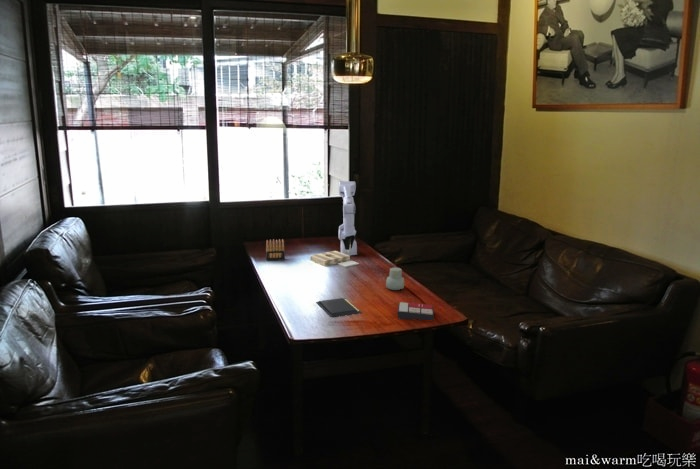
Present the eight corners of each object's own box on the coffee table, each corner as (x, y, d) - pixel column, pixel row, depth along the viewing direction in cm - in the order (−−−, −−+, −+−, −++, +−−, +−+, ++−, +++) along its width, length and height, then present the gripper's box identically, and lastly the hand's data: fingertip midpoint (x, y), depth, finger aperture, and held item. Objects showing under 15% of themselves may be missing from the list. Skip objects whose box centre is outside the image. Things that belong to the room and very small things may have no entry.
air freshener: (402, 292, 257) (403, 272, 255) (385, 291, 259) (386, 271, 256) (404, 285, 268) (405, 266, 265) (388, 284, 269) (388, 265, 267)
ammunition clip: (284, 258, 312) (284, 238, 310) (284, 259, 311) (284, 239, 308) (266, 259, 310) (265, 239, 307) (266, 260, 309) (265, 239, 306)
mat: (351, 261, 308) (351, 260, 308) (359, 264, 303) (359, 263, 303) (337, 264, 302) (337, 263, 302) (345, 267, 297) (345, 266, 297)
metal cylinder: (346, 252, 303) (346, 240, 301) (351, 252, 302) (351, 240, 300) (344, 253, 300) (344, 241, 299) (349, 253, 299) (349, 241, 298)
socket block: (335, 255, 320) (335, 250, 319) (349, 260, 309) (349, 255, 309) (310, 260, 309) (310, 255, 308) (324, 266, 298) (324, 260, 298)
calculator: (434, 313, 223) (398, 309, 224) (432, 323, 224) (397, 319, 225) (433, 304, 233) (398, 300, 235) (432, 313, 234) (398, 309, 236)
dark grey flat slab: (315, 299, 243) (346, 295, 249) (315, 303, 244) (346, 299, 249) (329, 315, 225) (363, 310, 230) (329, 319, 225) (363, 314, 231)
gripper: (348, 222, 305) (348, 245, 308) (336, 226, 293) (336, 250, 296) (359, 223, 302) (359, 246, 305) (347, 228, 290) (347, 252, 293)
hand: (348, 248), depth 300 cm, fingers closed on metal cylinder, 3 cm apart
